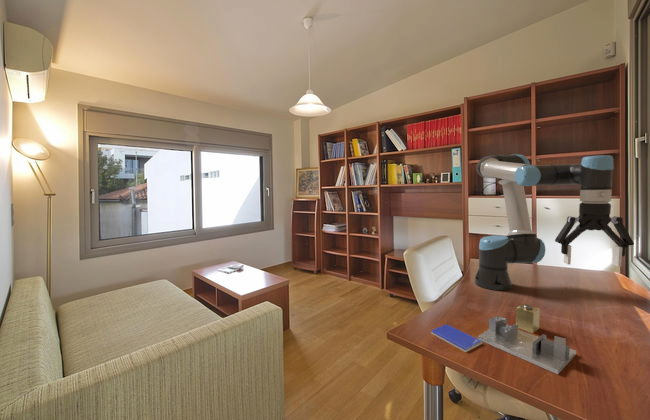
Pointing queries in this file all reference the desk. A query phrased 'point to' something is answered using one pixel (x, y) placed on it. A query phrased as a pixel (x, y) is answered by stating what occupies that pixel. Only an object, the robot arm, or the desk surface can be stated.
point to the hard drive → (456, 337)
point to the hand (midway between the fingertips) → (591, 264)
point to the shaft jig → (528, 345)
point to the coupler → (527, 317)
